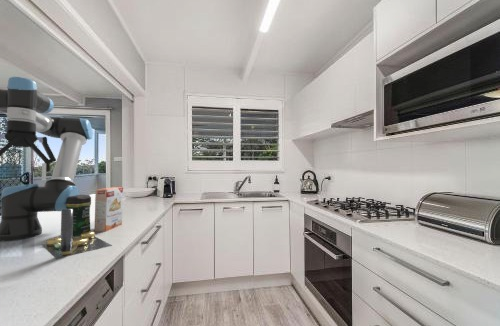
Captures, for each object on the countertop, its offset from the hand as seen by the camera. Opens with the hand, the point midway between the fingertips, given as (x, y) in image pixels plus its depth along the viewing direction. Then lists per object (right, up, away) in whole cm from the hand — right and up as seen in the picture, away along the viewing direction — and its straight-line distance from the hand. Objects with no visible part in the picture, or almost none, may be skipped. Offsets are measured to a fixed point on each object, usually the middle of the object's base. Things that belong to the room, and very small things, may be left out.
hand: (20, 181), depth 84 cm
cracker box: (+12, -27, +33) cm, 44 cm away
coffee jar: (+4, -27, +23) cm, 35 cm away
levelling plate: (+16, -26, +6) cm, 31 cm away
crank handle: (+17, -25, +3) cm, 30 cm away
